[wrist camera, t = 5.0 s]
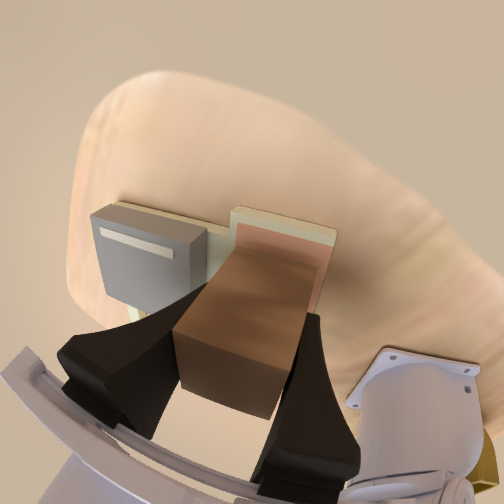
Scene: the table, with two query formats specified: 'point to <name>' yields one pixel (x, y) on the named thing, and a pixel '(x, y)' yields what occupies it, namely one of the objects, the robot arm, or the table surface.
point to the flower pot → (484, 468)
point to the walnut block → (244, 331)
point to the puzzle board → (259, 242)
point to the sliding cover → (148, 256)
